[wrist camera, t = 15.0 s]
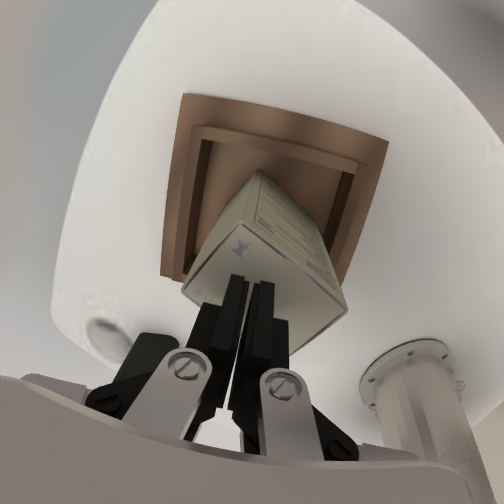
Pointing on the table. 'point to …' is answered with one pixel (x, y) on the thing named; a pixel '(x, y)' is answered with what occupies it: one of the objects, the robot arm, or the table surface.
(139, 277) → the table surface
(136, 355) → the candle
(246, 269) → the skincare box
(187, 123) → the tray
